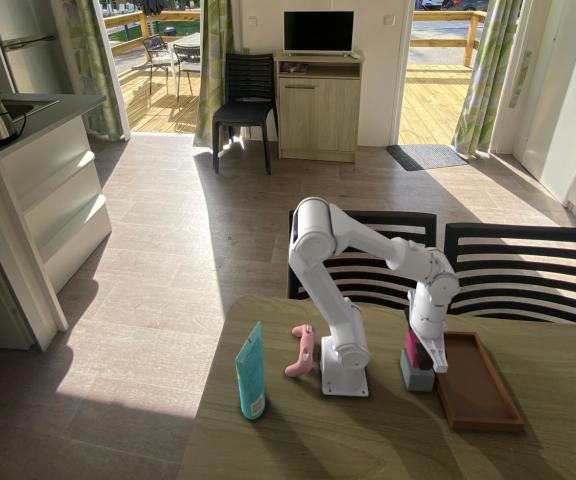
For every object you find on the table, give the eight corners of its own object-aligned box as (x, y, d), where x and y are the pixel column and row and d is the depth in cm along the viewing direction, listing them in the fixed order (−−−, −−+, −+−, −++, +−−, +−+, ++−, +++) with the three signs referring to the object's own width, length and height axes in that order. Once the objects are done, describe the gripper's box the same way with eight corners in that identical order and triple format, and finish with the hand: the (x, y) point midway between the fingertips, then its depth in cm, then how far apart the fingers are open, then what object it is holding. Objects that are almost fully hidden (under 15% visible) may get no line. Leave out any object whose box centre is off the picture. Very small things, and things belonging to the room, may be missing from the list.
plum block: (412, 368, 61) (415, 353, 59) (404, 343, 65) (407, 329, 63) (434, 369, 60) (438, 354, 59) (425, 344, 65) (428, 330, 63)
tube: (252, 378, 64) (248, 315, 58) (272, 389, 62) (270, 325, 56) (232, 420, 58) (226, 354, 52) (254, 434, 56) (249, 368, 50)
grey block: (407, 390, 62) (410, 375, 61) (399, 362, 67) (402, 347, 66) (431, 391, 62) (435, 376, 61) (422, 363, 67) (425, 348, 65)
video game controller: (301, 386, 64) (316, 371, 62) (282, 376, 64) (297, 360, 62) (307, 338, 73) (320, 323, 71) (291, 328, 73) (304, 313, 71)
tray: (451, 428, 57) (453, 420, 56) (419, 337, 72) (420, 329, 71) (521, 432, 56) (524, 424, 55) (474, 339, 72) (476, 332, 71)
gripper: (470, 350, 51) (456, 399, 55) (434, 275, 65) (425, 319, 69) (429, 348, 51) (418, 397, 56) (401, 274, 65) (394, 318, 69)
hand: (419, 354), depth 62 cm, fingers closed on plum block, 4 cm apart
